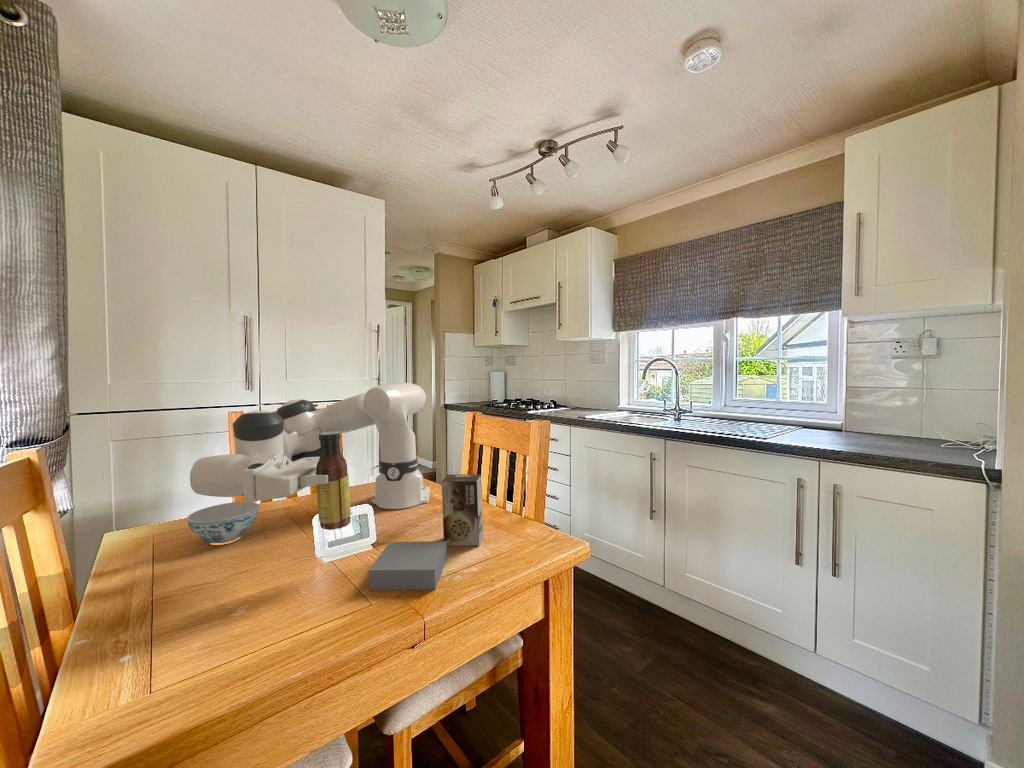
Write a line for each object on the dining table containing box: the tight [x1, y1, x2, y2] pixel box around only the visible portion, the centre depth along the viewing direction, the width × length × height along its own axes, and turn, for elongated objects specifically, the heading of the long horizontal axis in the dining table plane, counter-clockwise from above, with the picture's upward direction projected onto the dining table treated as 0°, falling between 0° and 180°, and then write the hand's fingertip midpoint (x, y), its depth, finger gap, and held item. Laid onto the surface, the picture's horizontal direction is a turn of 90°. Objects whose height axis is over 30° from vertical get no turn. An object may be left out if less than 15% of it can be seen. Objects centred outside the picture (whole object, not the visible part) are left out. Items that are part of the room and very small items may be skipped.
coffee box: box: [440, 473, 484, 547], centre depth 101 cm, size 9×6×16 cm
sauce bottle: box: [316, 431, 352, 531], centre depth 85 cm, size 6×6×20 cm
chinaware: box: [186, 501, 259, 543], centre depth 104 cm, size 15×15×8 cm
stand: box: [368, 540, 448, 591], centre depth 85 cm, size 13×13×4 cm
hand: (337, 474), depth 85 cm, fingers closed on sauce bottle, 6 cm apart
